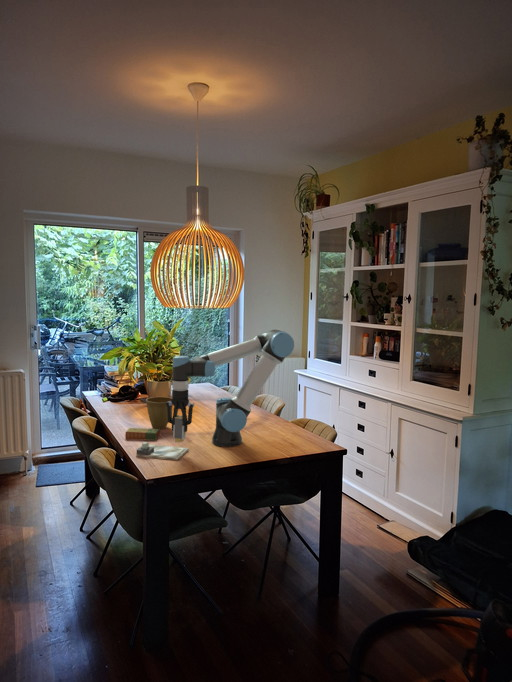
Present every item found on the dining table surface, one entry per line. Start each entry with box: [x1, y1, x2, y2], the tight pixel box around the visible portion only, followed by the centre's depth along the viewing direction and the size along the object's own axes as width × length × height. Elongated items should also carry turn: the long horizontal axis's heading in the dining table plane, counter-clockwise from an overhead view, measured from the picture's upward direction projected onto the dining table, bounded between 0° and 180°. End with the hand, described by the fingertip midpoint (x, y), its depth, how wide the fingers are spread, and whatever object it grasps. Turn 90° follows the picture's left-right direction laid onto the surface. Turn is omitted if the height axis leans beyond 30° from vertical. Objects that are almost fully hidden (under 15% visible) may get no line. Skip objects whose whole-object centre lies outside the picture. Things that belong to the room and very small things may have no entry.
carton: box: [124, 427, 161, 441], centre depth 259 cm, size 8×16×4 cm, turn 88°
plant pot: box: [145, 396, 174, 430], centre depth 277 cm, size 15×15×16 cm
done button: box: [141, 441, 150, 450], centre depth 232 cm, size 3×3×3 cm
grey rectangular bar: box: [173, 414, 184, 443], centre depth 234 cm, size 4×4×12 cm
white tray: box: [136, 443, 189, 461], centre depth 235 cm, size 20×15×3 cm
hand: (179, 438), depth 235 cm, fingers closed on grey rectangular bar, 3 cm apart
